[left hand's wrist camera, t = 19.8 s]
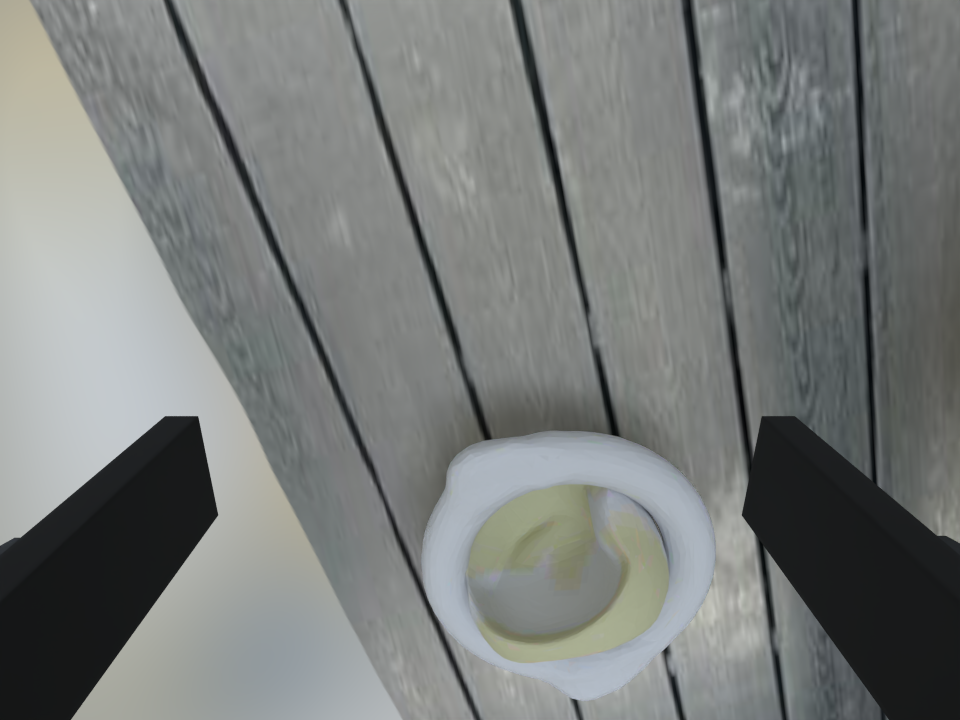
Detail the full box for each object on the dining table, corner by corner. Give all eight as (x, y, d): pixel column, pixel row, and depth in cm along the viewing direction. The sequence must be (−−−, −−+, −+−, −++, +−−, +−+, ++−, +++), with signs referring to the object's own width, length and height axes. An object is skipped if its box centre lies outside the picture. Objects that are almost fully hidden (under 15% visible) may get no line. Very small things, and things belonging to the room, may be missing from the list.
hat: (712, 566, 51) (801, 724, 37) (494, 637, 54) (499, 808, 40) (629, 332, 43) (701, 421, 29) (378, 432, 46) (334, 556, 32)
